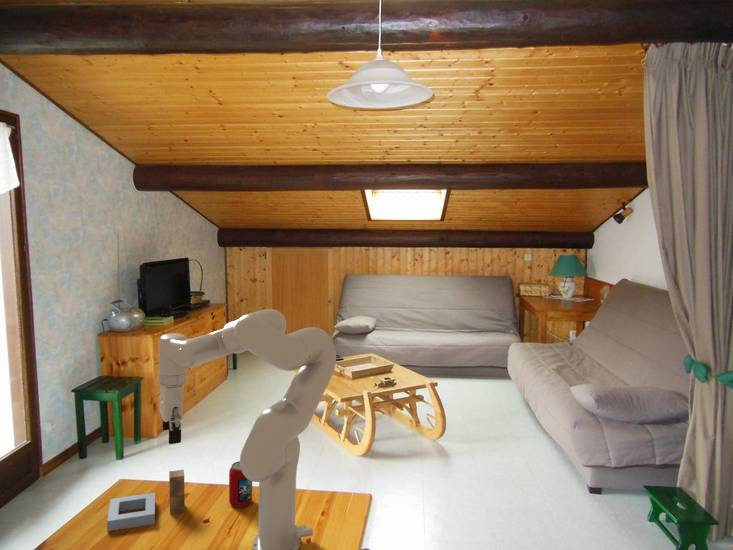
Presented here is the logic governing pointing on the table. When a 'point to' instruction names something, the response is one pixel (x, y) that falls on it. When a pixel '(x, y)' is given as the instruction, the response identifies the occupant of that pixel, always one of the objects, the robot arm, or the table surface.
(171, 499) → the walnut peg
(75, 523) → the table surface
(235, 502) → the beverage can
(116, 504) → the grey square frame
